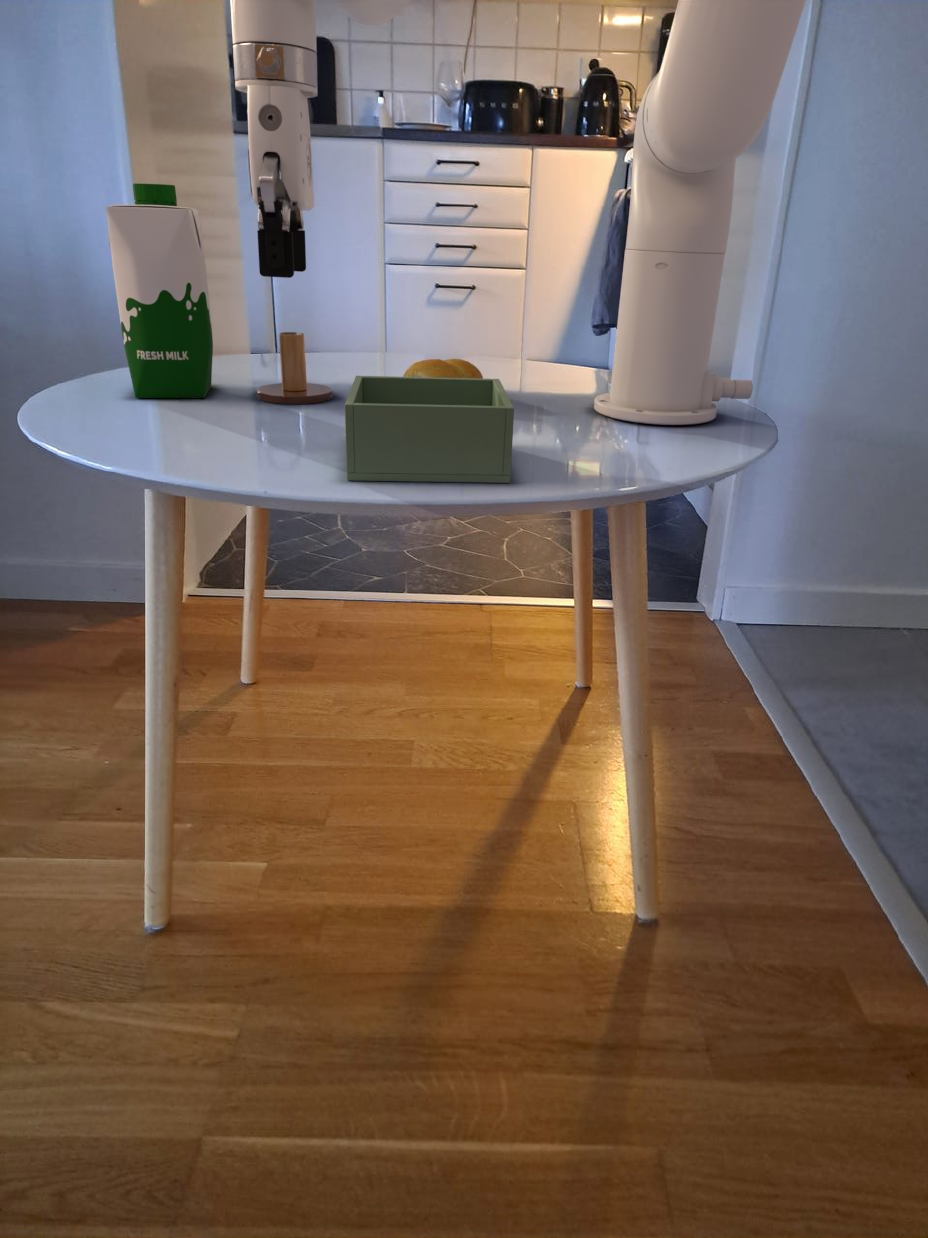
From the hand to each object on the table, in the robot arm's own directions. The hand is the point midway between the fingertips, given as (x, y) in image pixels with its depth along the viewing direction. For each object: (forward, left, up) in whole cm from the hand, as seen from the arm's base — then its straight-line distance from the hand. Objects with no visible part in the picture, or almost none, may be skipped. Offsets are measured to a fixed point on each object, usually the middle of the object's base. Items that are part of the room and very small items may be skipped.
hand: (284, 273), depth 85 cm
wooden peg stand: (0, 0, -12) cm, 12 cm away
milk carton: (+13, -1, -13) cm, 18 cm away
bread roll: (-16, -3, -13) cm, 21 cm away
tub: (-14, +26, -12) cm, 32 cm away
